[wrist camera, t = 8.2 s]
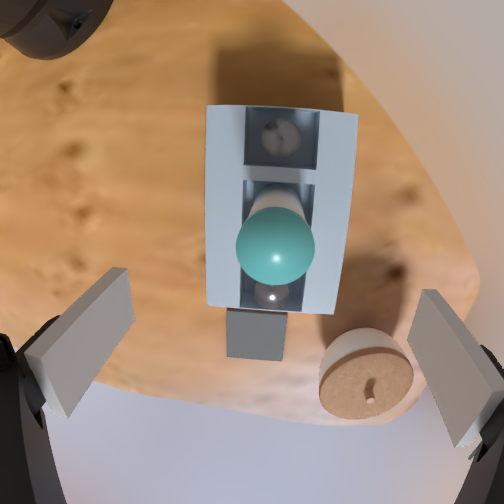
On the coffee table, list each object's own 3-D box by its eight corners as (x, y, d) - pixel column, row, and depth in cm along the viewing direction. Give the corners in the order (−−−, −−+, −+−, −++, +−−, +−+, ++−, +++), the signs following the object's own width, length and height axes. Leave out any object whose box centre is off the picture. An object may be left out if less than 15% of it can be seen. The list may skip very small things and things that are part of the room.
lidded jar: (403, 310, 35) (430, 359, 26) (386, 375, 39) (402, 425, 30) (318, 312, 36) (327, 365, 27) (311, 378, 40) (314, 432, 31)
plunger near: (265, 119, 26) (262, 117, 22) (299, 121, 26) (302, 119, 22) (263, 152, 27) (260, 156, 23) (297, 154, 27) (300, 158, 23)
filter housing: (218, 277, 36) (207, 305, 30) (220, 109, 29) (206, 105, 23) (326, 285, 35) (333, 314, 29) (344, 117, 28) (358, 114, 22)
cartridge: (252, 179, 29) (236, 208, 19) (305, 183, 28) (318, 213, 18) (250, 229, 31) (234, 282, 20) (301, 233, 30) (310, 287, 20)
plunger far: (258, 257, 31) (254, 278, 27) (289, 259, 31) (290, 280, 27) (257, 285, 32) (253, 308, 28) (287, 287, 32) (287, 311, 28)
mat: (227, 309, 37) (226, 310, 37) (287, 313, 36) (287, 315, 36) (227, 354, 40) (226, 356, 39) (282, 359, 39) (282, 361, 39)
